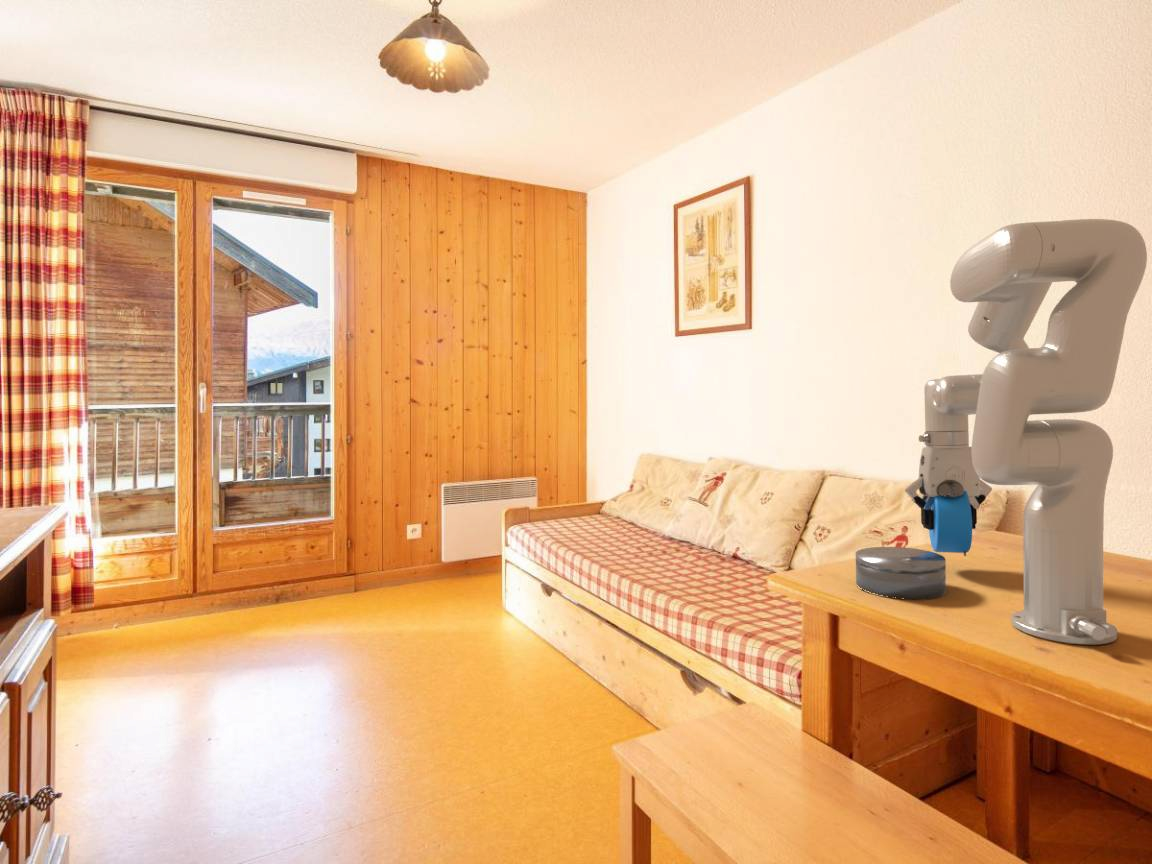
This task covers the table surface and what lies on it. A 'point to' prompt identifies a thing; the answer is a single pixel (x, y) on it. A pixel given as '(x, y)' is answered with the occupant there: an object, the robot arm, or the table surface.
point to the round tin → (901, 572)
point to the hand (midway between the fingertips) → (948, 527)
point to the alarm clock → (951, 519)
